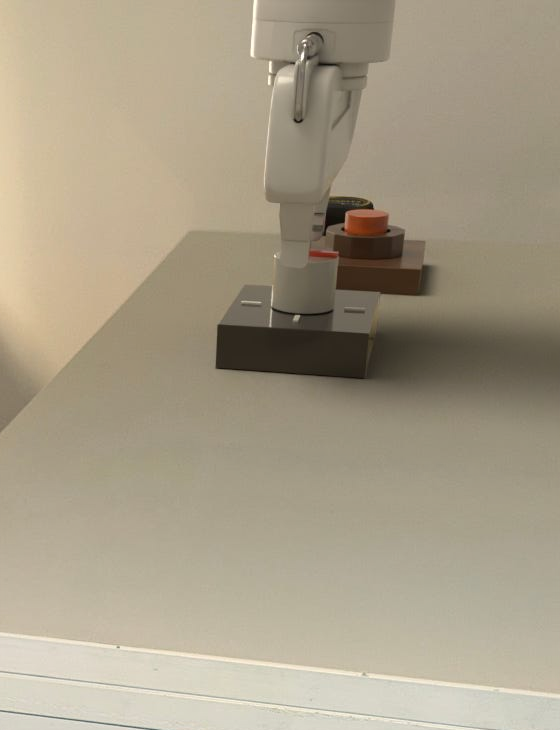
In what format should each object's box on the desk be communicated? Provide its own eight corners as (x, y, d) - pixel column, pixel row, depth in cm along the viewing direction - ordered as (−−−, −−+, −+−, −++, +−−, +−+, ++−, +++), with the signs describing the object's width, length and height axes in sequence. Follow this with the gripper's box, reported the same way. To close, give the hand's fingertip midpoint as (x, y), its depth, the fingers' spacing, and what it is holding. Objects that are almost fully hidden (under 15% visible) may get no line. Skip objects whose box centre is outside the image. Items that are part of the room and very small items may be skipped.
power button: (345, 229, 113) (347, 208, 112) (388, 231, 112) (390, 210, 111) (342, 237, 110) (343, 215, 109) (385, 239, 109) (387, 217, 108)
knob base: (242, 324, 99) (244, 282, 97) (376, 332, 97) (380, 289, 95) (215, 368, 89) (217, 321, 87) (364, 378, 86) (369, 331, 85)
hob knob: (266, 312, 90) (270, 255, 88) (275, 297, 94) (278, 243, 92) (331, 316, 89) (336, 259, 87) (337, 301, 93) (342, 246, 91)
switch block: (310, 260, 119) (313, 214, 117) (422, 265, 117) (428, 219, 115) (294, 289, 109) (298, 240, 107) (417, 296, 107) (423, 246, 105)
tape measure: (295, 245, 125) (298, 205, 123) (308, 232, 131) (311, 193, 129) (367, 250, 123) (371, 209, 121) (377, 236, 129) (381, 196, 127)
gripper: (359, 40, 73) (335, 288, 80) (381, 23, 91) (360, 228, 97) (248, 37, 75) (232, 281, 81) (290, 21, 92) (275, 223, 99)
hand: (302, 252), depth 89 cm, fingers open, 8 cm apart
